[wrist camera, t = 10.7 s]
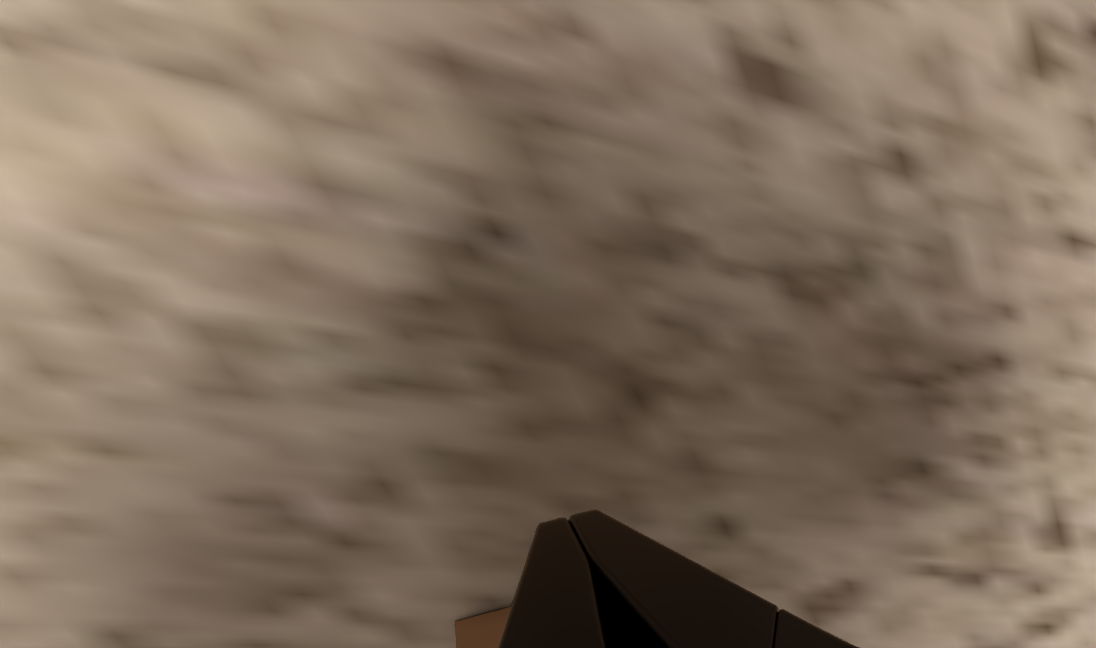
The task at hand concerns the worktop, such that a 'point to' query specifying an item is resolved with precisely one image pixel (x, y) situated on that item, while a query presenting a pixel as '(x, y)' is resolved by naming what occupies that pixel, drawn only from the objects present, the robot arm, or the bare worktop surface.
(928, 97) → the worktop surface
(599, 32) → the worktop surface
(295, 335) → the worktop surface
